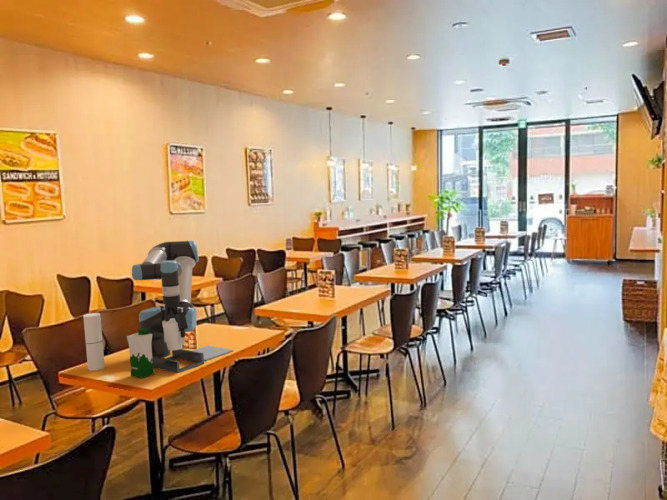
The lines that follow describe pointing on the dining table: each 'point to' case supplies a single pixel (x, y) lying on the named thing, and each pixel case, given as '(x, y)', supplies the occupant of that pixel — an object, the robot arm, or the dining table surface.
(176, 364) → the cup stand
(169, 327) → the foam cup
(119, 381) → the dining table surface
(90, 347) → the cylindrical container
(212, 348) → the mat
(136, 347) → the milk carton
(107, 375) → the dining table surface
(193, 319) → the robot arm
